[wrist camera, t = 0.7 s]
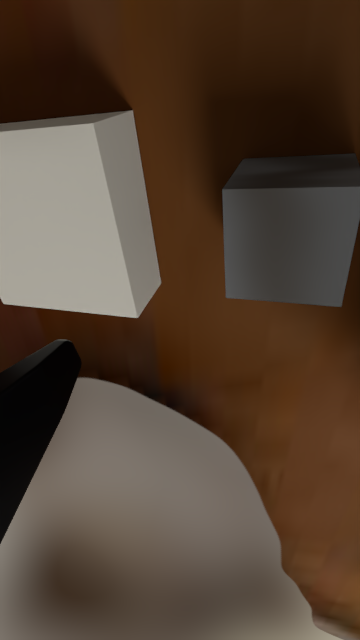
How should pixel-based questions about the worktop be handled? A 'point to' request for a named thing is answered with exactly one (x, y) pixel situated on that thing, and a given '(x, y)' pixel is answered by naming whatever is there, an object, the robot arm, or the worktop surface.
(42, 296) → the cream base block
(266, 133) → the worktop surface
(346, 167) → the charcoal cube
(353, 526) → the worktop surface
